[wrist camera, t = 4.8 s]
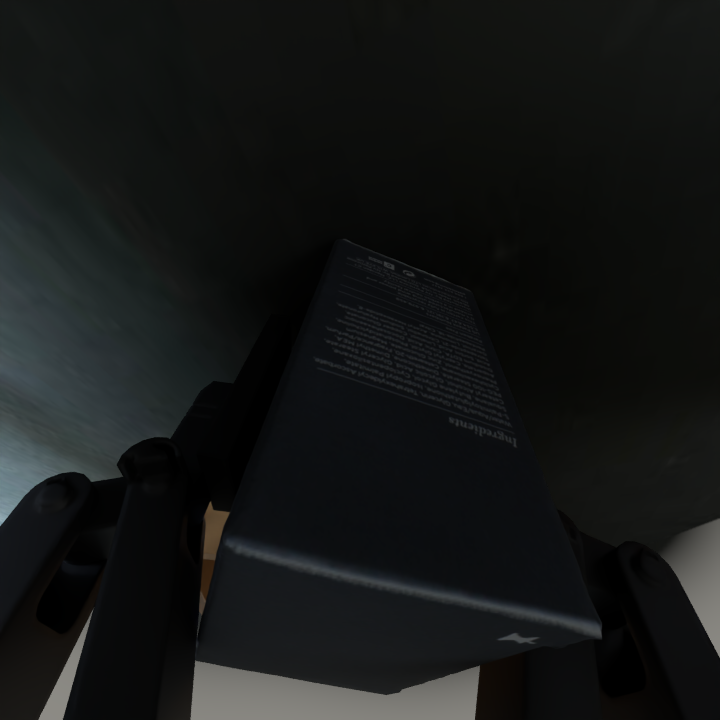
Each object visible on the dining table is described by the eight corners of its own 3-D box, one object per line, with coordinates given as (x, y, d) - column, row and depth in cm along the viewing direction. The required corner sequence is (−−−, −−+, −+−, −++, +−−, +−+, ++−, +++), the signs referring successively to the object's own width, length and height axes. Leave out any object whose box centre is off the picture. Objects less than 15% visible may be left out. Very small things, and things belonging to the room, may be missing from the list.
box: (334, 232, 12) (209, 550, 4) (474, 288, 13) (632, 640, 5) (285, 383, 17) (183, 671, 8) (391, 415, 18) (393, 703, 9)
